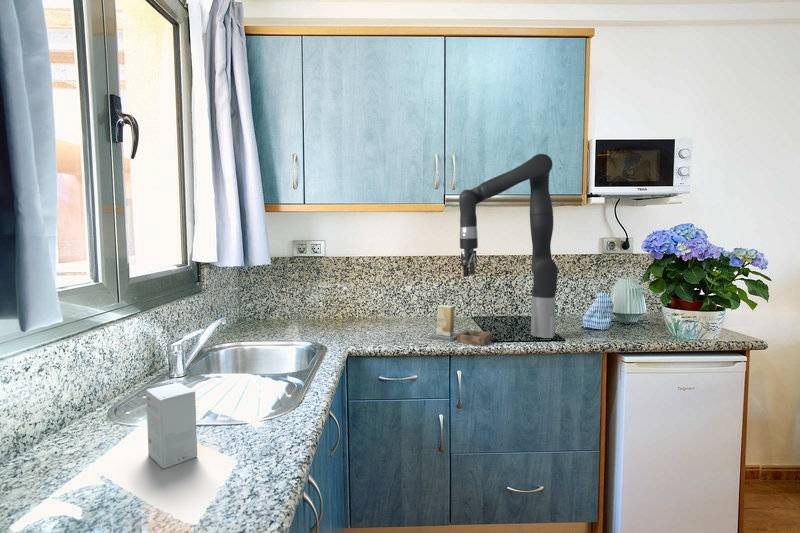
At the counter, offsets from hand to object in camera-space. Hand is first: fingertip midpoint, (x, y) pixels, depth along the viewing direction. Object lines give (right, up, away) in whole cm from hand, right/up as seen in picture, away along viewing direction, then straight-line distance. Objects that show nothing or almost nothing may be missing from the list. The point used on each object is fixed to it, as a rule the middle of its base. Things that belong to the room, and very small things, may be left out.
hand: (469, 275), depth 186 cm
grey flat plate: (-11, -26, -4) cm, 28 cm away
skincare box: (-11, -25, -4) cm, 27 cm away
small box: (-74, -33, -102) cm, 130 cm away
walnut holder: (0, -26, -11) cm, 29 cm away
